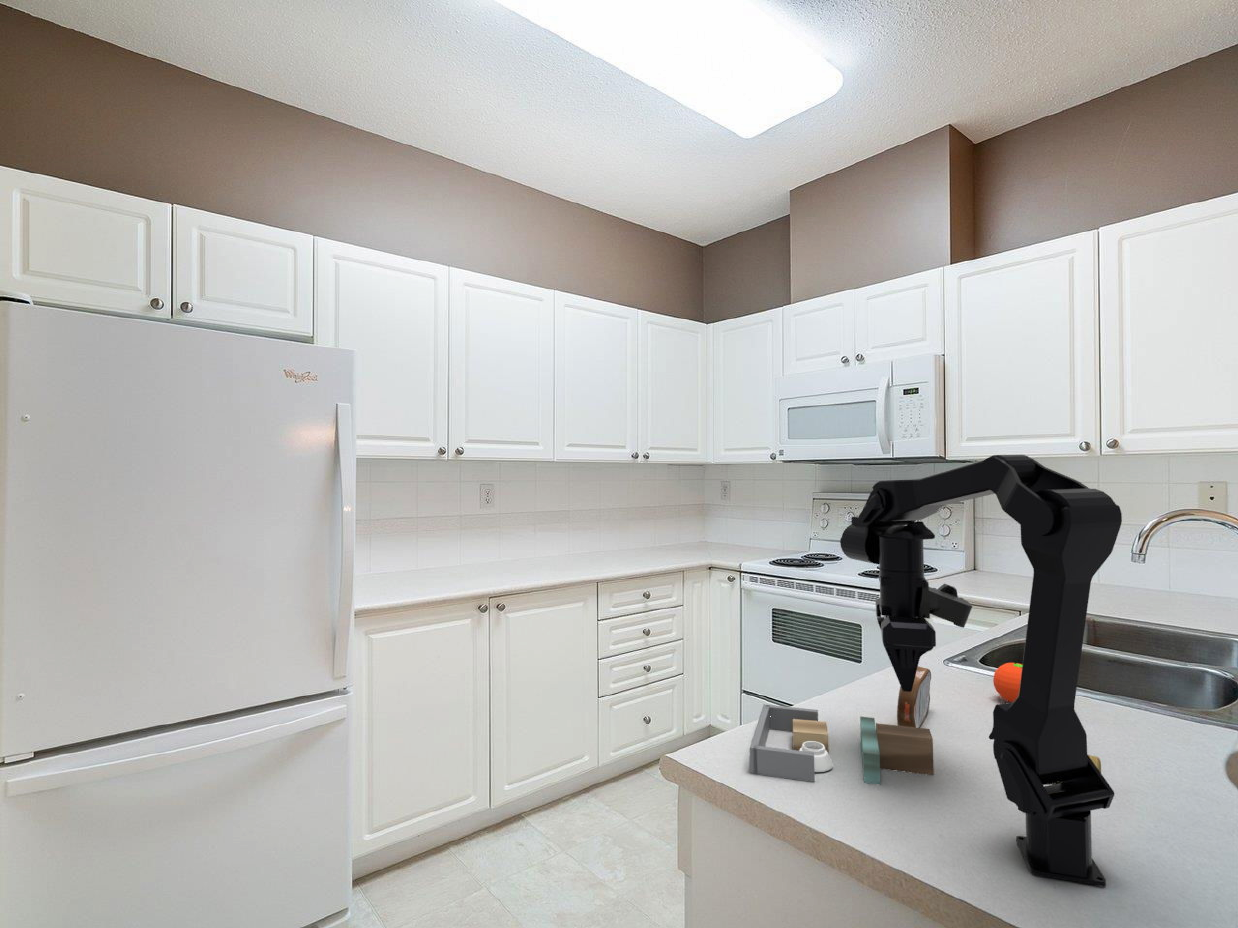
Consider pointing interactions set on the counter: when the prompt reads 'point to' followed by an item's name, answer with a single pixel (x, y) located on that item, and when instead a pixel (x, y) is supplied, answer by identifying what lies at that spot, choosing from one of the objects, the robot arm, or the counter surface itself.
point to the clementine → (1008, 681)
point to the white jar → (818, 755)
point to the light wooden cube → (809, 733)
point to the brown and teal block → (894, 749)
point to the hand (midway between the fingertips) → (903, 680)
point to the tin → (915, 700)
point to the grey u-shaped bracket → (778, 759)
